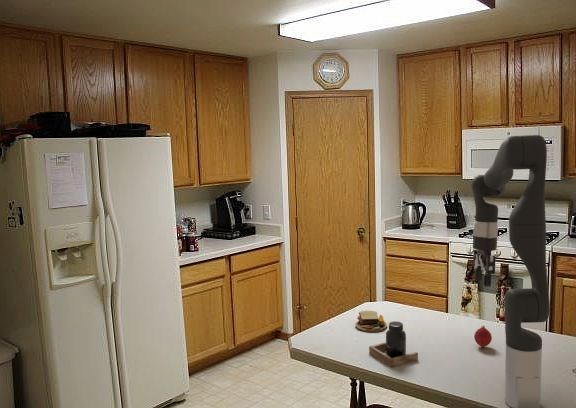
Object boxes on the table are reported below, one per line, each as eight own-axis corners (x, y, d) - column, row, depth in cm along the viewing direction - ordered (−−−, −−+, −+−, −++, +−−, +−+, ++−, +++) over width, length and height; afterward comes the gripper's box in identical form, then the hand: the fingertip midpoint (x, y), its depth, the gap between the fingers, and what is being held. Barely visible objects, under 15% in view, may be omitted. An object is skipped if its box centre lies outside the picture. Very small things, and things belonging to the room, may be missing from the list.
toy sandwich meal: (355, 333, 206) (355, 321, 205) (355, 320, 219) (354, 309, 219) (388, 333, 204) (387, 321, 204) (385, 320, 218) (385, 309, 217)
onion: (492, 351, 184) (493, 329, 183) (475, 350, 185) (475, 328, 184) (490, 344, 189) (490, 323, 188) (473, 343, 191) (473, 322, 190)
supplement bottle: (382, 357, 182) (381, 324, 180) (392, 351, 187) (391, 318, 185) (400, 362, 178) (399, 328, 176) (409, 355, 183) (409, 322, 181)
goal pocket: (394, 346, 191) (394, 340, 191) (417, 359, 179) (417, 352, 179) (369, 353, 186) (369, 346, 186) (391, 367, 175) (391, 359, 174)
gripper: (467, 232, 182) (464, 278, 183) (481, 237, 168) (478, 287, 169) (488, 233, 182) (485, 279, 183) (505, 238, 168) (502, 288, 169)
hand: (482, 283), depth 176 cm, fingers open, 8 cm apart
